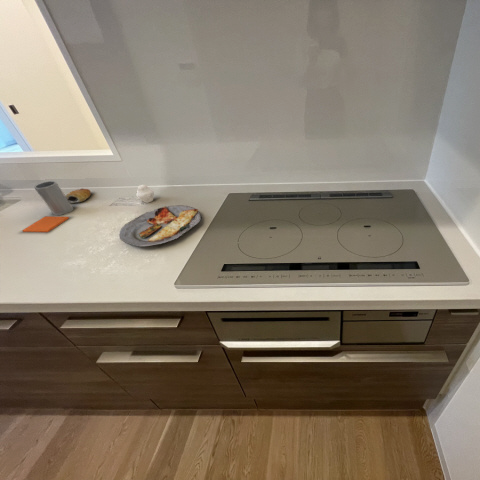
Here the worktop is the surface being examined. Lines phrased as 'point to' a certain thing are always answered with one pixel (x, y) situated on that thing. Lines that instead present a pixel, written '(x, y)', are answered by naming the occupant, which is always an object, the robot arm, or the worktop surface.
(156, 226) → the food plate
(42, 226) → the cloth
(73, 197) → the pastry
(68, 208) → the grey cylindrical cup
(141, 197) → the white lumpy ball
